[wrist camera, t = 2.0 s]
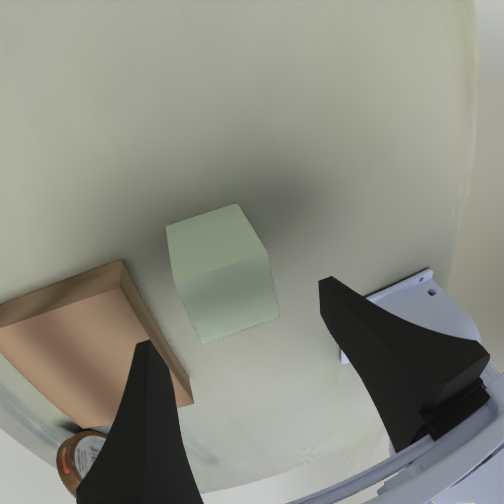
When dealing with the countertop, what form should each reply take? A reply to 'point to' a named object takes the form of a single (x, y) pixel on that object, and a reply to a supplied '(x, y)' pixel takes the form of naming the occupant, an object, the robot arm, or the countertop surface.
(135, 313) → the walnut block
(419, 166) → the countertop surface
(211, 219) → the sage cube
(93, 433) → the tin
